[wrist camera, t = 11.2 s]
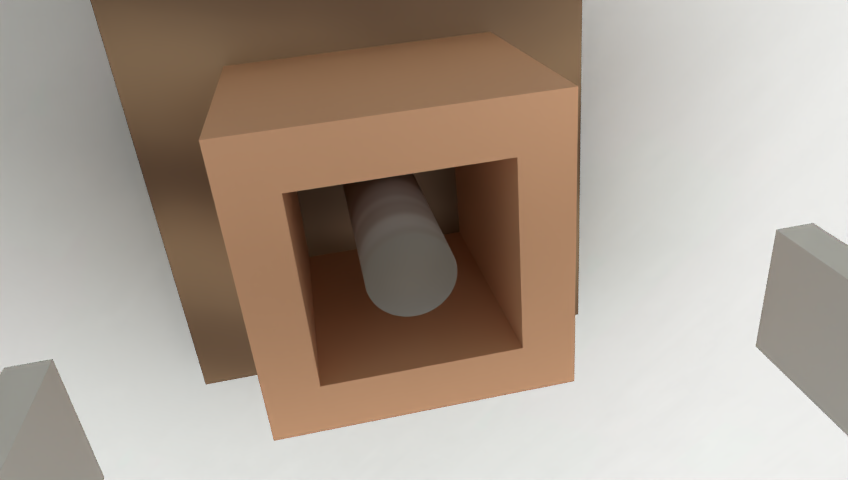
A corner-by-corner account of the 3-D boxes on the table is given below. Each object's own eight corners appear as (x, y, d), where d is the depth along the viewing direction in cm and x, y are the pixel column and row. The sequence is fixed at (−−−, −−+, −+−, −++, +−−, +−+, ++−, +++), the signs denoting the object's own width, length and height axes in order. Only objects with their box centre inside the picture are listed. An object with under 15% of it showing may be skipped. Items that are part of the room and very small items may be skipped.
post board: (91, -38, 19) (-23, 0, 12) (567, -90, 21) (719, -86, 14) (208, 364, 26) (181, 546, 18) (566, 298, 27) (669, 440, 20)
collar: (223, 66, 20) (198, 140, 14) (490, 31, 21) (577, 86, 15) (275, 299, 24) (274, 440, 17) (499, 260, 25) (574, 380, 18)
